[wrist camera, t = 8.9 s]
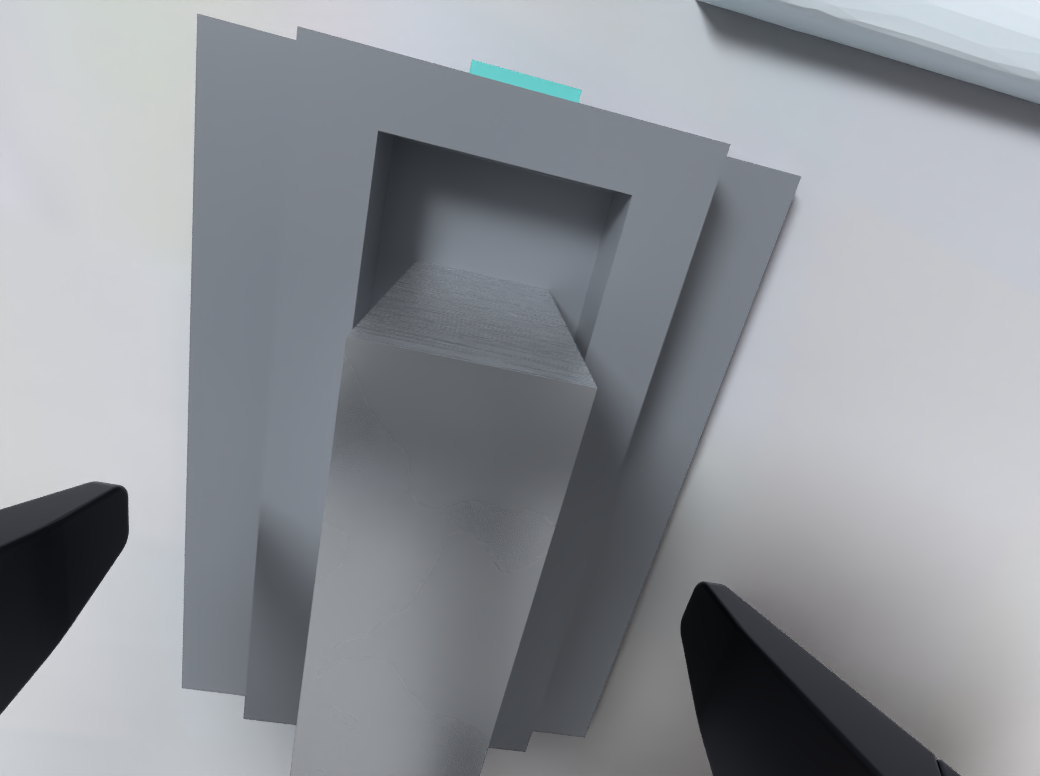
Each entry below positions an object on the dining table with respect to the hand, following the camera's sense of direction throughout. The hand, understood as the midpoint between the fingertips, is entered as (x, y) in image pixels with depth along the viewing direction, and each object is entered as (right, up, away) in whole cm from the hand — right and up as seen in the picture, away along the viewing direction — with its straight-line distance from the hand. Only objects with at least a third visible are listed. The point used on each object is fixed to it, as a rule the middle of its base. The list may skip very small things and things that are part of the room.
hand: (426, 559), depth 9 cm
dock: (0, +1, +3) cm, 3 cm away
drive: (0, +1, +3) cm, 3 cm away
